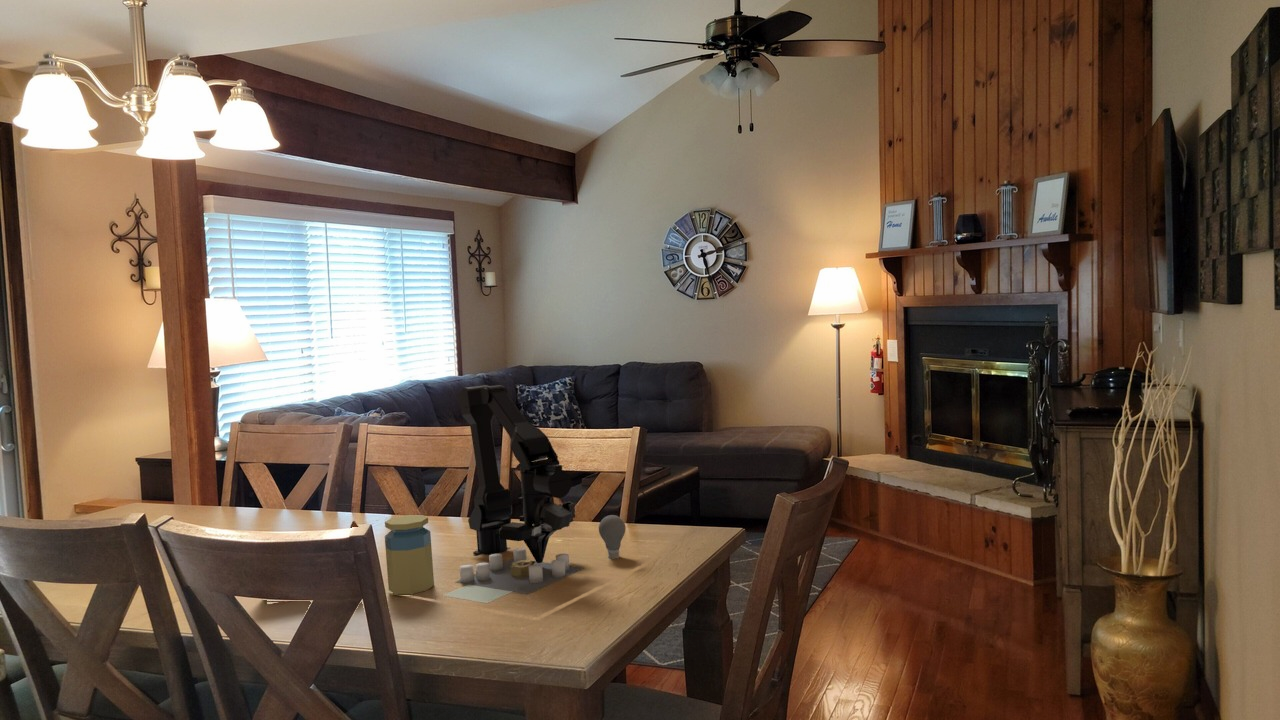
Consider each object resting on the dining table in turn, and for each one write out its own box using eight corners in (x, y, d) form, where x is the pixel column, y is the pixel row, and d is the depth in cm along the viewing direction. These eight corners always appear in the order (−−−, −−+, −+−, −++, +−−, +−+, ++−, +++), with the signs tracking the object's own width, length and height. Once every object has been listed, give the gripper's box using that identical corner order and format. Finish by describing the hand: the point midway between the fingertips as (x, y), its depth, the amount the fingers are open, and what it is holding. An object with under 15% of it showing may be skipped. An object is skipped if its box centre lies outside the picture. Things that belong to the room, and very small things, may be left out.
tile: (442, 598, 183) (442, 595, 183) (468, 587, 189) (468, 584, 189) (486, 606, 176) (486, 603, 176) (512, 594, 182) (512, 591, 182)
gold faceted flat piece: (506, 575, 194) (505, 565, 194) (521, 569, 198) (520, 559, 198) (526, 578, 191) (525, 567, 191) (540, 572, 195) (540, 561, 195)
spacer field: (454, 585, 191) (453, 568, 191) (514, 560, 207) (513, 545, 207) (527, 597, 180) (526, 579, 180) (585, 570, 196) (584, 554, 196)
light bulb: (624, 563, 200) (621, 518, 199) (597, 563, 201) (594, 518, 200) (629, 555, 206) (627, 512, 205) (604, 555, 207) (601, 512, 206)
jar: (443, 586, 190) (438, 516, 190) (410, 600, 183) (405, 526, 182) (412, 581, 195) (407, 513, 194) (379, 594, 188) (373, 522, 187)
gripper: (536, 503, 186) (541, 579, 187) (590, 485, 201) (594, 555, 202) (495, 500, 192) (500, 572, 193) (550, 482, 207) (555, 550, 208)
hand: (539, 562), depth 199 cm, fingers closed
